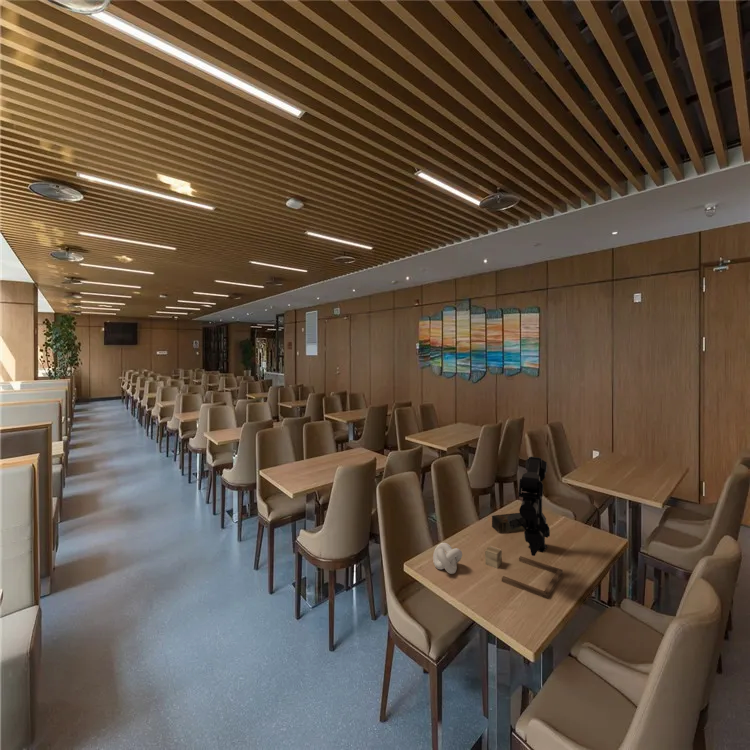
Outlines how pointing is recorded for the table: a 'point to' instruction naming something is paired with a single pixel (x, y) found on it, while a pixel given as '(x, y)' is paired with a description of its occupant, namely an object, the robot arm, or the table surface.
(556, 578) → the bay
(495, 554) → the oak block
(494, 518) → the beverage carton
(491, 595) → the table surface
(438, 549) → the white decorative knot
